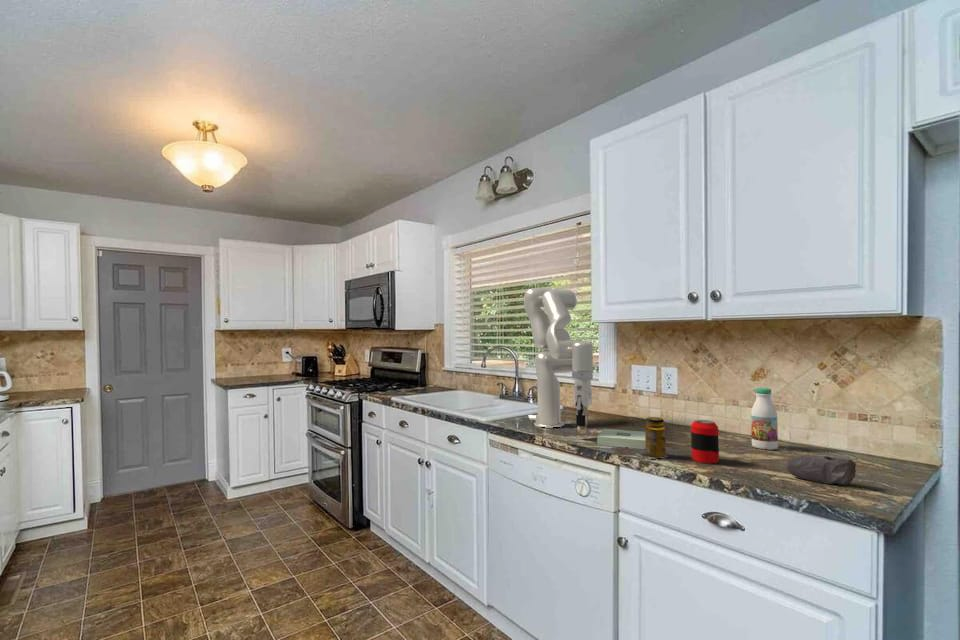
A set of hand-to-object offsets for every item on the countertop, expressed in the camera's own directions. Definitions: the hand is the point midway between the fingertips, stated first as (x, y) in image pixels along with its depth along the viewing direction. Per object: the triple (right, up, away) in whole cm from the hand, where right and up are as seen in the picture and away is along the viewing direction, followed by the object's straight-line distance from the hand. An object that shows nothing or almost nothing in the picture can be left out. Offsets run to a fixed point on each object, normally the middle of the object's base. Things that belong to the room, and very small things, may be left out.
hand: (582, 424), depth 175 cm
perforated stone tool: (+51, -4, -51) cm, 73 cm away
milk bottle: (+59, -5, -15) cm, 61 cm away
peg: (0, -3, 0) cm, 3 cm away
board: (+14, -5, -6) cm, 16 cm away
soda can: (+31, -5, -30) cm, 44 cm away
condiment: (+18, -5, -24) cm, 30 cm away
